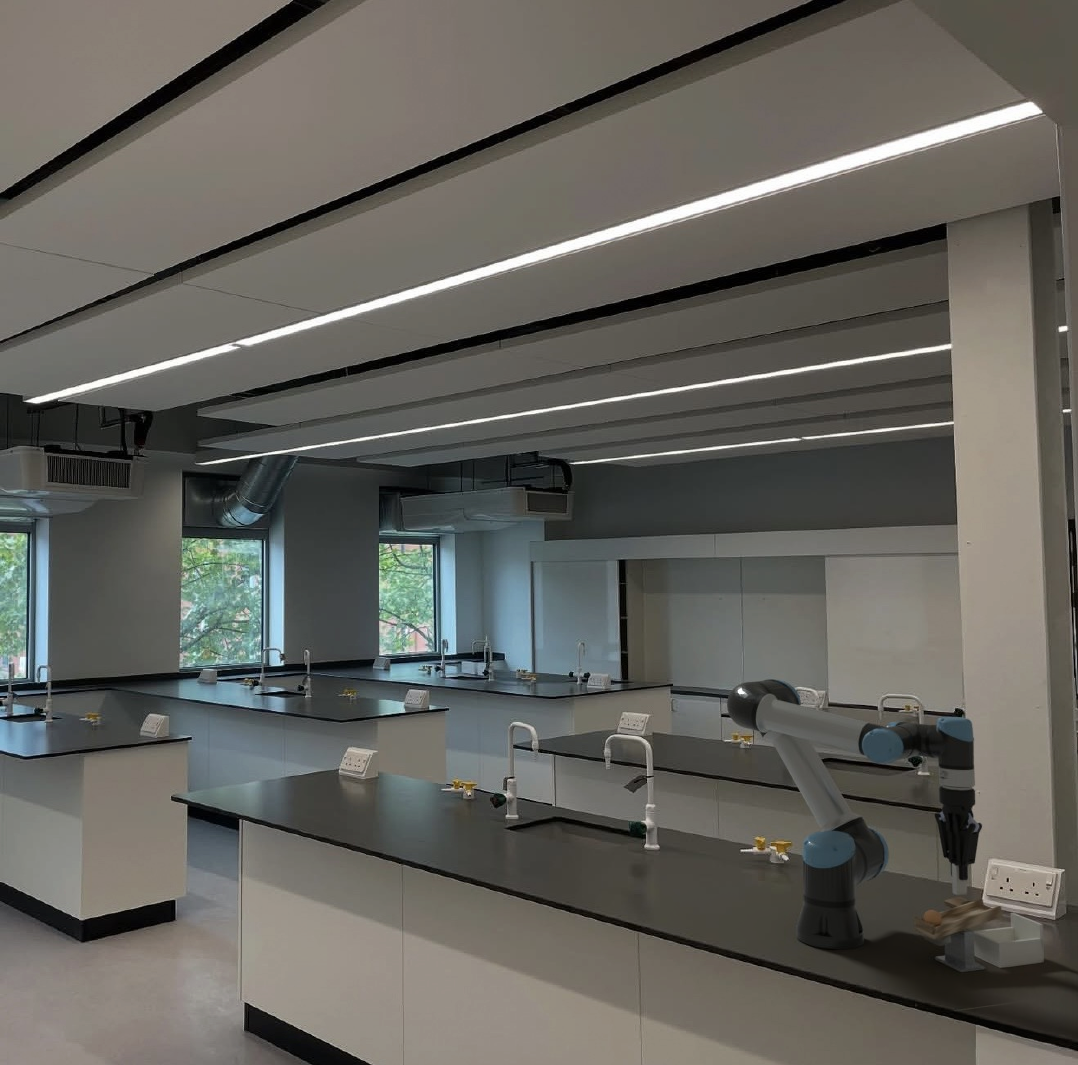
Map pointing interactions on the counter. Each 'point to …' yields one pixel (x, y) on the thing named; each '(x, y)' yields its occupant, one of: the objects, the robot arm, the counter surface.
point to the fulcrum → (961, 952)
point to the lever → (956, 919)
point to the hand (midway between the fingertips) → (959, 893)
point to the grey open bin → (1011, 943)
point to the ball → (932, 917)
